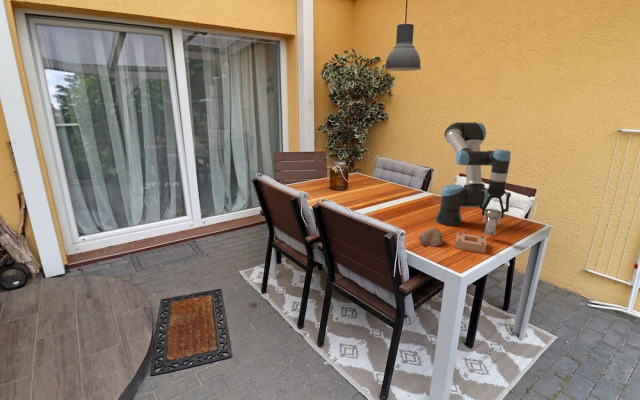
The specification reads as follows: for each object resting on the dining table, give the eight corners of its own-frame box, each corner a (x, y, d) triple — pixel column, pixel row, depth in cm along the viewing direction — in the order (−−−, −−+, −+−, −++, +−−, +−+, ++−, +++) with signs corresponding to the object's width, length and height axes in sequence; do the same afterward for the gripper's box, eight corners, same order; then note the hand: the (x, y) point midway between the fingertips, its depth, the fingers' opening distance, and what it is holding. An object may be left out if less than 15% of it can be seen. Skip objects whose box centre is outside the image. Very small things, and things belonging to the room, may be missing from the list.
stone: (441, 245, 179) (436, 227, 181) (449, 243, 170) (443, 224, 172) (420, 250, 178) (415, 232, 180) (427, 248, 169) (421, 229, 171)
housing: (454, 249, 169) (455, 239, 167) (455, 241, 179) (457, 231, 178) (484, 255, 163) (486, 244, 162) (484, 245, 174) (485, 235, 172)
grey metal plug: (483, 234, 177) (486, 211, 173) (482, 230, 182) (486, 208, 179) (496, 236, 174) (500, 213, 170) (495, 232, 180) (499, 209, 176)
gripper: (477, 180, 171) (471, 221, 177) (520, 183, 163) (512, 227, 169) (477, 177, 177) (471, 217, 184) (518, 180, 169) (511, 222, 176)
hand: (491, 222), depth 176 cm, fingers closed on grey metal plug, 6 cm apart
